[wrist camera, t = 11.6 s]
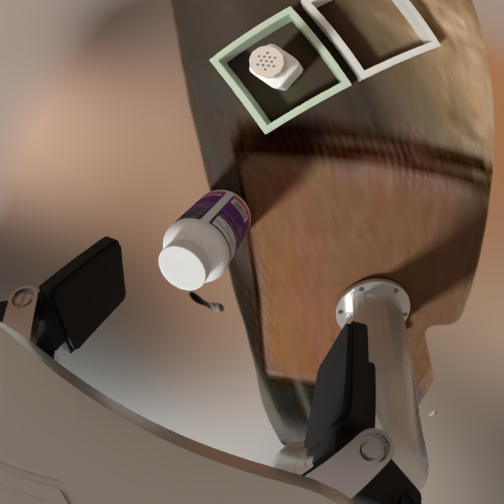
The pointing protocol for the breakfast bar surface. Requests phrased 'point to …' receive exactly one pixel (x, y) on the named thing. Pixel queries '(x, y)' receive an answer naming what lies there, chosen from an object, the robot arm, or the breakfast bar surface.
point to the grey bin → (310, 3)
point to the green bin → (253, 37)
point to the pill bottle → (204, 240)
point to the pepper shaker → (275, 66)
